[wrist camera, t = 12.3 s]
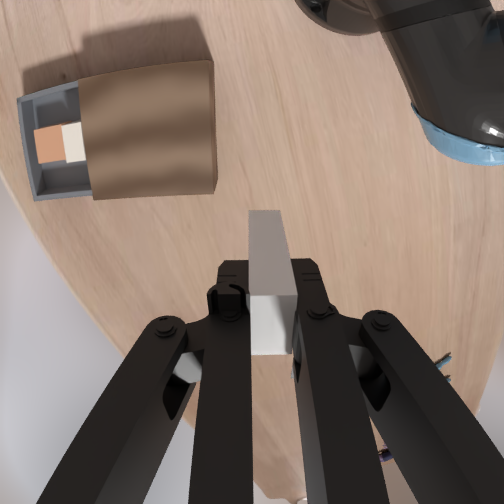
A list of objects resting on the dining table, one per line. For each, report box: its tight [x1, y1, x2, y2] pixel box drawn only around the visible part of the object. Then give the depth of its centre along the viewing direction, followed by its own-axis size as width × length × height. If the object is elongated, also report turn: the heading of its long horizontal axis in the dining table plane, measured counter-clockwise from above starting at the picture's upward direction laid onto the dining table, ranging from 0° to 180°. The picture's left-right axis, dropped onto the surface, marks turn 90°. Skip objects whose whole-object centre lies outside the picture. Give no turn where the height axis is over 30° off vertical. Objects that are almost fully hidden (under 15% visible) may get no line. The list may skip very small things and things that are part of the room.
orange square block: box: [34, 121, 72, 164], centre depth 37 cm, size 5×5×3 cm
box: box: [17, 81, 92, 201], centre depth 38 cm, size 16×12×4 cm
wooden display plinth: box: [78, 60, 218, 200], centre depth 37 cm, size 16×16×6 cm
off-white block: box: [61, 119, 86, 163], centre depth 36 cm, size 5×5×3 cm
